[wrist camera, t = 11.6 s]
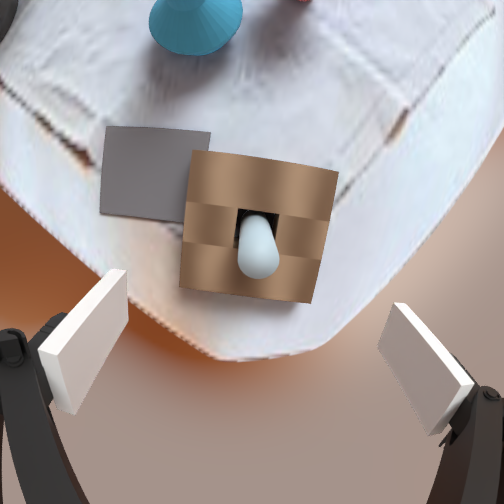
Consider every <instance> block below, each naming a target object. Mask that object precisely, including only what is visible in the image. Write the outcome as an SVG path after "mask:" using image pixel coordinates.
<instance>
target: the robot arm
mask: <svg viewBox="0 0 504 504" xmlns="http://www.w3.org/2000/svg"><path fill="white" fill-rule="evenodd" d="M17 5H18V0H0V42H1V40H2V39H3V37H4V35H5V34H6V32H7V30H8V28H9V26H10V24H11V22H12V20H13V18H14V15H15V12H16V9H17ZM127 322H128V302H127V271H126V270H120V269H114V268H112V269H111V270H110V271H109V272H108V273H107V274H106V275H105V276H104V277H103V278H102V279H101V280H100V281H99V282H98V283H97V284H96V285H95V286H94V287H93V289H91V290H90V291H89V292H88V293H87V295H86V296H85V297H84V298H83V299H82V300H81V301H80V302H79V303H78V304H77V305H76V306H75V307H74V309H73V310H72V311H71V312H70V313H69V314H67V313H63V312H61V313H59V314H57V315H55V316H53V317H52V318H51V319H50V320H49V321H48V322H47V323H46V324H45V326H43V327H42V328H41V329H40V331H39V332H37V333H36V335H35V336H34V337H33V338H32V339H31V340H30V341H29V342H28V343H27V339H26V336H25V334H24V333H23V332H22V331H21V330H18V329H14V328H10V329H4V330H1V331H0V504H3V497H2V439H3V438H2V437H3V425H4V421H5V426H6V432H7V437H8V441H9V446H10V450H11V454H12V458H13V462H14V466H15V469H16V473H17V477H18V480H19V483H20V486H21V489H22V492H23V495H24V498H25V501H26V504H90V503H89V502H88V500H87V498H86V496H85V494H84V492H83V490H82V488H81V486H80V484H79V482H78V480H77V477H76V475H75V473H74V471H73V469H72V466H71V464H70V462H69V460H68V457H67V455H66V452H65V450H64V447H63V444H62V442H61V439H60V437H59V434H58V431H57V429H56V425H55V423H54V420H53V417H52V414H51V411H50V408H49V404H50V403H51V401H52V400H53V399H54V402H55V404H56V407H57V409H58V410H61V411H64V412H67V413H69V414H72V415H76V413H77V411H78V409H79V407H80V405H81V404H82V402H83V400H84V398H85V396H86V394H87V392H88V390H89V389H90V387H91V385H92V383H93V381H94V379H95V378H96V376H97V374H98V372H99V370H100V369H101V367H102V365H103V363H104V362H105V360H106V358H107V356H108V355H109V353H110V351H111V349H112V348H113V346H114V344H115V342H116V341H117V339H118V337H119V336H120V334H121V332H122V331H123V329H124V327H125V326H126V324H127ZM377 348H378V349H379V351H380V353H381V354H382V356H383V358H384V359H385V361H386V363H387V364H388V366H389V368H390V369H391V371H392V373H393V375H394V376H395V378H396V380H397V382H398V383H399V385H400V386H401V388H402V390H403V392H404V394H405V395H406V397H407V399H408V401H409V403H410V404H411V406H412V408H413V410H414V412H415V413H416V415H417V417H418V419H419V420H420V422H421V424H422V426H423V428H424V430H425V432H426V434H427V435H428V436H430V435H434V434H439V433H441V432H442V431H443V430H444V428H445V427H446V426H447V424H448V423H449V424H450V426H451V427H452V429H451V430H450V431H449V433H448V434H447V435H446V437H445V438H444V439H443V440H442V442H441V443H440V444H439V447H441V446H442V444H444V443H445V447H444V450H443V454H442V458H441V462H440V465H439V468H438V471H437V475H436V478H435V481H434V484H433V487H432V490H431V492H430V495H429V498H428V501H427V503H426V504H504V398H501V396H500V394H499V393H498V392H497V391H496V390H495V389H493V388H491V387H488V386H481V387H480V386H479V385H478V384H477V382H476V381H475V380H474V379H473V377H471V375H470V374H469V373H468V371H467V370H465V368H464V367H463V365H461V364H460V362H459V361H458V359H457V358H456V357H455V356H454V355H452V354H451V353H450V352H448V351H447V350H446V348H445V347H444V346H443V345H442V344H441V343H440V342H439V340H438V339H437V338H436V337H435V336H434V335H433V333H432V332H431V331H430V330H429V329H428V328H427V327H426V326H425V324H424V323H423V322H422V321H421V320H420V319H419V318H418V317H417V316H416V314H415V313H414V312H413V311H412V310H411V309H410V308H409V307H408V306H407V305H406V304H405V303H393V305H392V308H391V311H390V314H389V317H388V319H387V322H386V325H385V327H384V330H383V333H382V335H381V338H380V340H379V343H378V345H377Z"/></svg>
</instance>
